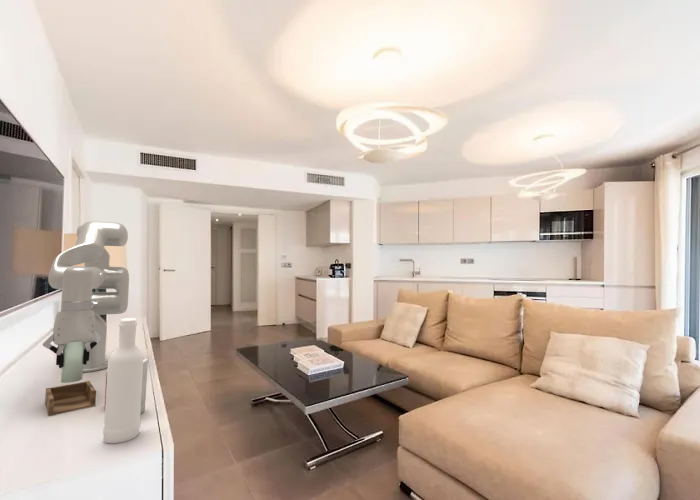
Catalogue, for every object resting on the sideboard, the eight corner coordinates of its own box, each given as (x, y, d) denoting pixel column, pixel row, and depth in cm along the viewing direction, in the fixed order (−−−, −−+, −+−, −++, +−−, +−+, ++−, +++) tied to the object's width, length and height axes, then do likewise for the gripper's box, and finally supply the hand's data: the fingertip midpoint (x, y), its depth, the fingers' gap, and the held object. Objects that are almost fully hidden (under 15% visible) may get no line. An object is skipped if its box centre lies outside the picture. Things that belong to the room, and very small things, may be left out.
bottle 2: (121, 445, 84) (128, 322, 86) (94, 441, 86) (102, 320, 87) (146, 430, 92) (152, 317, 93) (122, 427, 94) (128, 316, 95)
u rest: (44, 403, 108) (45, 388, 108) (88, 394, 115) (89, 381, 116) (48, 416, 99) (49, 399, 99) (95, 405, 107) (96, 390, 107)
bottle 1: (59, 379, 107) (63, 324, 108) (80, 376, 111) (84, 322, 112) (61, 383, 103) (65, 326, 104) (83, 380, 107) (87, 325, 108)
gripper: (106, 304, 117) (103, 358, 116) (39, 307, 105) (34, 367, 104) (111, 306, 112) (108, 363, 111) (41, 309, 100) (36, 373, 99)
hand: (72, 364), depth 107 cm, fingers closed on bottle 1, 5 cm apart
